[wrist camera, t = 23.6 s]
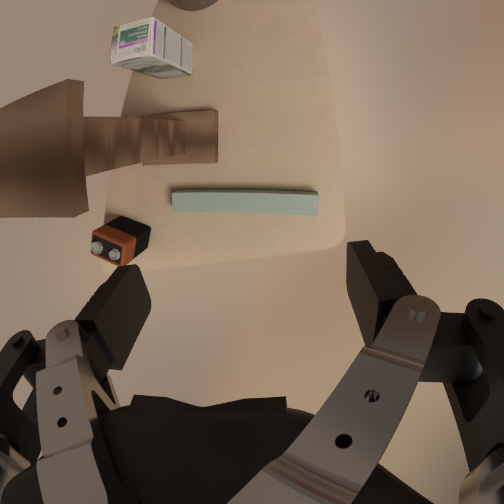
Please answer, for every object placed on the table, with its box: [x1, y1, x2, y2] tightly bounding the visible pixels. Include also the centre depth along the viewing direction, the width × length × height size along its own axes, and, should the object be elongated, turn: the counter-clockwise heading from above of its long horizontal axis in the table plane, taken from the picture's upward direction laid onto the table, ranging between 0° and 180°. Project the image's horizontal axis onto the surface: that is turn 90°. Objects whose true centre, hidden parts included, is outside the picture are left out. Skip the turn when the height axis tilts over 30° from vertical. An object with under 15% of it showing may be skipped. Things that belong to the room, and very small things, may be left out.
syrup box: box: [111, 17, 193, 79], centre depth 32 cm, size 6×6×14 cm
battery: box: [91, 216, 151, 266], centre depth 46 cm, size 4×7×10 cm, turn 72°
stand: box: [0, 79, 218, 218], centre depth 29 cm, size 8×12×32 cm, turn 89°
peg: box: [172, 189, 319, 216], centre depth 44 cm, size 3×22×3 cm, turn 90°
